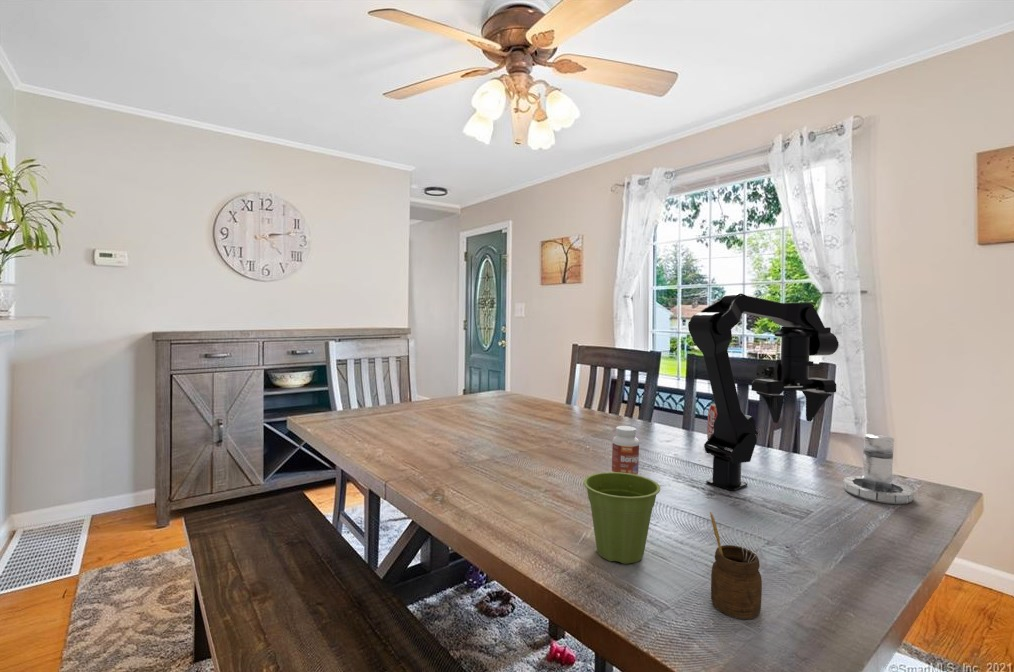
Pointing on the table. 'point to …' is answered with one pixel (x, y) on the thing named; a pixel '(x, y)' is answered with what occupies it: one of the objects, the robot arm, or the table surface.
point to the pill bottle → (625, 451)
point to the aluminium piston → (877, 462)
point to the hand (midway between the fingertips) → (792, 421)
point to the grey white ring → (878, 492)
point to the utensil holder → (736, 579)
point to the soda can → (711, 419)
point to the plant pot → (621, 513)
